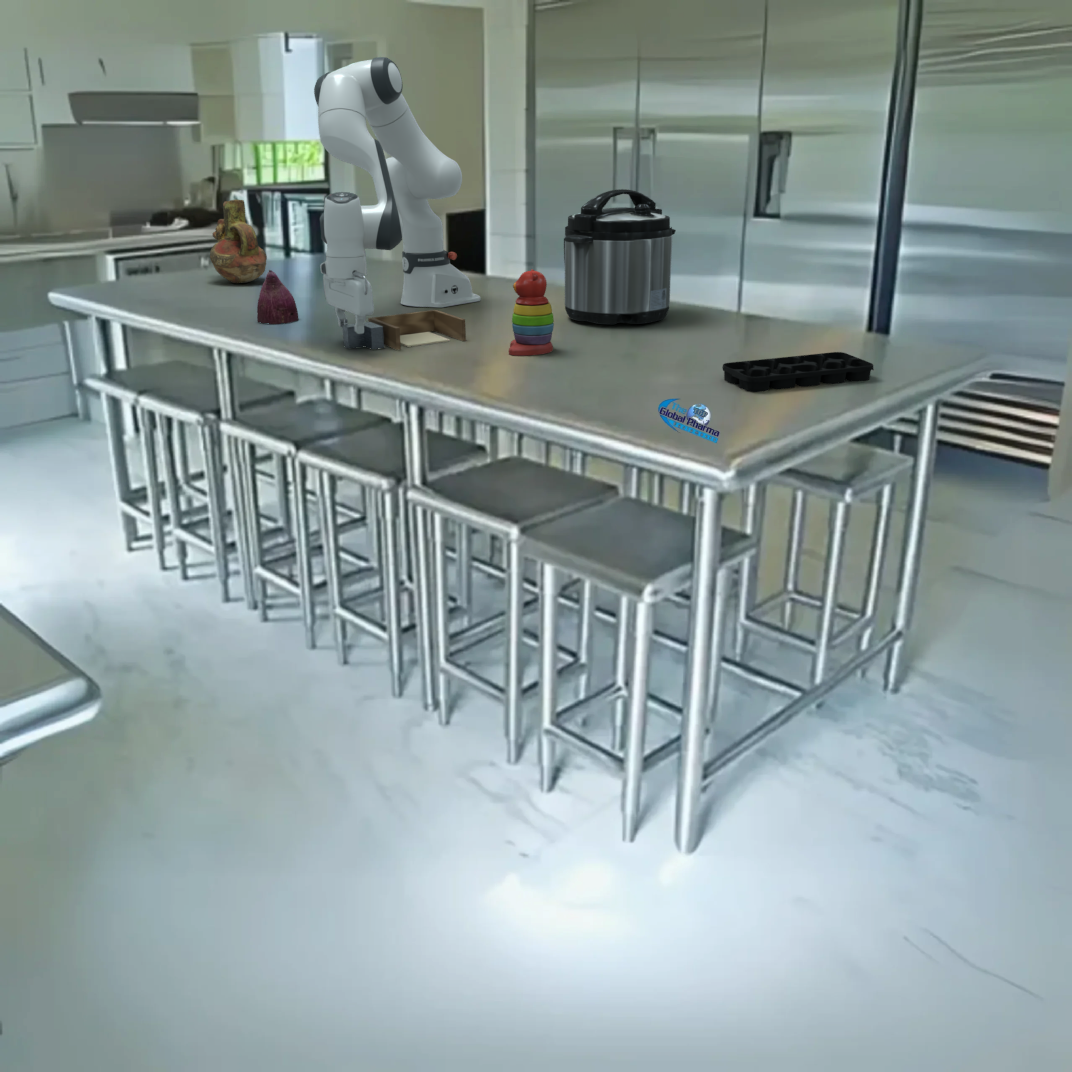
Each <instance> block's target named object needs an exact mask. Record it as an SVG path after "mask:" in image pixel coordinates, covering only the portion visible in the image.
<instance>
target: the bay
mask: <svg viewBox="0 0 1072 1072" xmlns="http://www.w3.org/2000/svg"><path fill="white" fill-rule="evenodd" d="M367 320H368V321H367V322H372V323H375V324H377V325H380V326H383V335H384V346H386V347H388V346H389V347H388V348H390V347H391V348H390V349H393V348H394V349H393V350H395V349H396V351H401V350H402V347H401V346H402V345H401V343H400V335H408V334H415V333H423V332H431V333H433V332H437V333H438V334H442V335H444V336H448V337H450V338H451V339H452V338H453V339H456V340H458V341H462V342H465V341H467V336H466V333H467V332H466V319H465V318H462V317H459V316H456V315H454V314H453V315H452V314H450V313H447V312H444V311H441V310H439V309H438V310H437V309H431V310H422V311H421V310H420V311H415V312H413V311H412V312H406V313H398V314H390V315H381V316H375V317H374V316H372V317H368V319H367Z"/></svg>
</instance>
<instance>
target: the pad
mask: <svg viewBox="0 0 1072 1072" xmlns="http://www.w3.org/2000/svg"><path fill="white" fill-rule="evenodd" d="M446 342H451V339H449V338H446V337H444V336H441V335H438V334H435V333H433V332H423V333H415V334H408V335H400V343H401V346H403V347H406V346H407V348H411V346H412V347H418V346H425V345H432V344H440V343H446Z"/></svg>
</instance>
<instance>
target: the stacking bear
mask: <svg viewBox="0 0 1072 1072" xmlns="http://www.w3.org/2000/svg"><path fill="white" fill-rule="evenodd" d="M547 283H548V282H547V278H546V276H545V275H544V274H543V273H542V272H540V271H537V270H534V269H530V270H527V271H524V272H522V273H521V275H520V276H519V278H518V279H517V280H516V281H515V282H514V283H513V285H512V288H513V289H514V290H513V291H514V293H516V294H517V295H518V297H517V298H516V299H515V303H514V307H513V313H512V318H511V326H512V332H513V336H514V339H512V341H511V342H510V343H509V348H508V355H510V356H515V357H517V356H518V357H519V356H520V357H522V356H523V357H524V356H539V355H544V354H549V353H551V352H553V350H554V347H553V343H552V341H551V340H552V336H553V331H554V325H555V323H554V322H555V321H554V313H553V309H552V303H550V302H549V299H548V298H547V297H546V296H545V293H546V292H547V291H546V290H547V285H548V284H547Z"/></svg>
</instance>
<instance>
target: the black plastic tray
mask: <svg viewBox="0 0 1072 1072" xmlns="http://www.w3.org/2000/svg"><path fill="white" fill-rule="evenodd" d="M721 369H722V371H723V376H724V377H723V378H724V379H723V380H724V381H725V382H727V383H729V384H732V385H738V386H739V387H738V388H740V389H742V390H744V391H746V392H752V393H758V392H759V393H761V392H767V391H769V390H770V389H773V390H789V389H794V388H796V386H797V387H801V388H802V387H803V388H807V387H816V386H819V385H820V383H821V384H825V385H836V384H837V385H838V384H844V383H845V381H848V382H852V383H854V382H856V383H857V382H867V381H869V380H870V377H871V372H872V371H874V364H873V363H872V362H870V361H868V360H864V359H862V358H859V357H856V356H854V355H851V354H849V353H847V352H842V351H833V352H832V351H831V352H824V353H813V354H803V355H795V356H783V357H782V356H781V357H773V358H764V359H755V360H743V361H732V362H731V361H730V362H725V363H723V364H722V368H721Z"/></svg>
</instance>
